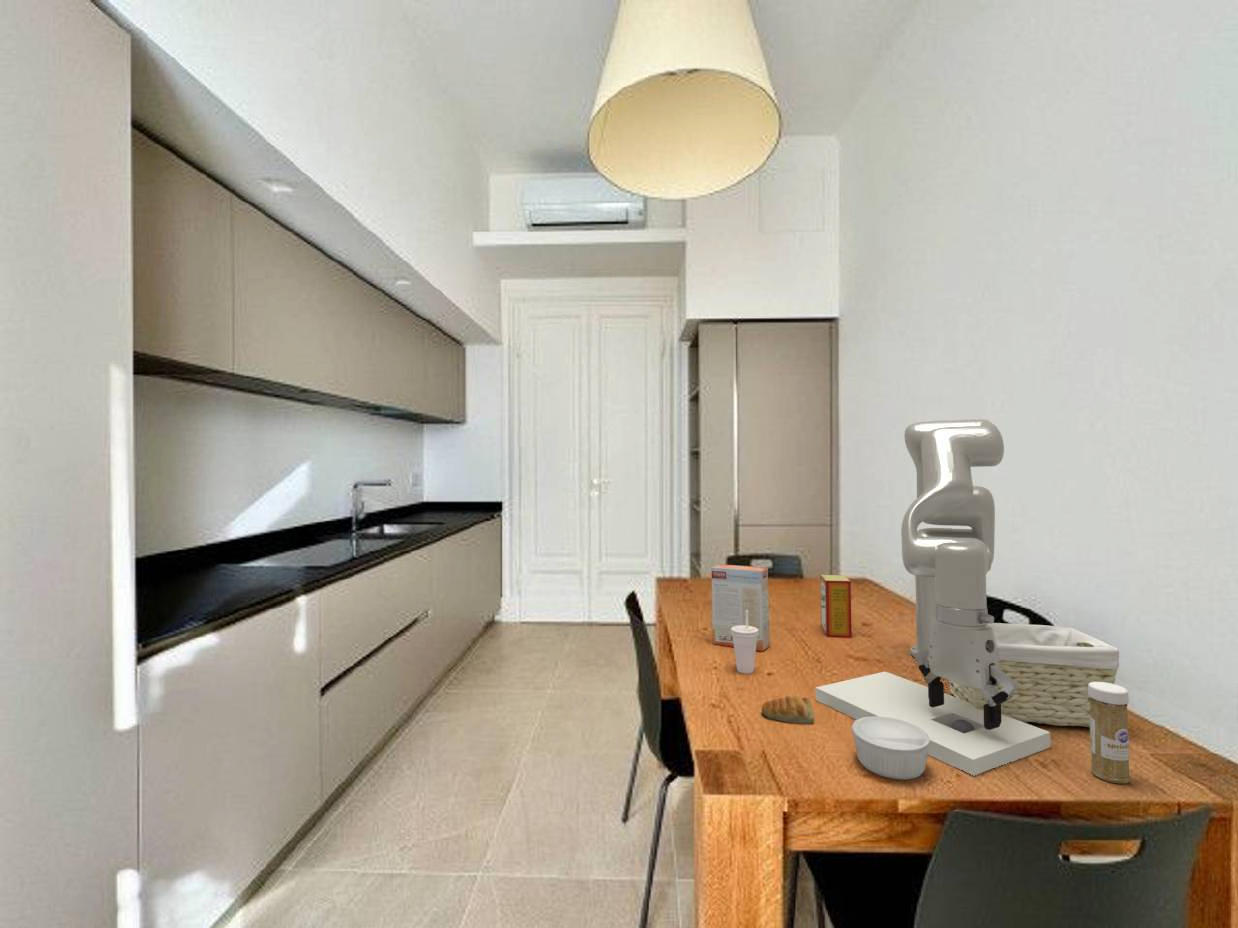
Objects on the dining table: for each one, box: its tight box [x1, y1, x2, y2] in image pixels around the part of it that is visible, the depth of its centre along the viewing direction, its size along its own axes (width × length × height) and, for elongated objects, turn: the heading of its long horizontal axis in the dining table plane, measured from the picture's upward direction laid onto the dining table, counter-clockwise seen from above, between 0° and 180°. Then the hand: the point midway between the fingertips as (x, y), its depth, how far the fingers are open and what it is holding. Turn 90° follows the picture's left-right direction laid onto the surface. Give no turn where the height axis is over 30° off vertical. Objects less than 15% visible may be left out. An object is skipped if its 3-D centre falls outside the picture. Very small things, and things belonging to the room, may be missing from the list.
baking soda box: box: [819, 574, 852, 639], centre depth 160 cm, size 10×6×16 cm
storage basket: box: [948, 622, 1120, 728], centre depth 107 cm, size 24×16×15 cm
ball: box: [951, 719, 975, 733], centre depth 96 cm, size 4×4×4 cm
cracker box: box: [711, 564, 771, 652], centre depth 150 cm, size 14×6×21 cm, turn 58°
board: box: [814, 671, 1052, 777], centre depth 103 cm, size 32×20×2 cm, turn 25°
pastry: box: [761, 695, 815, 725], centre depth 106 cm, size 9×7×4 cm
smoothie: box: [731, 610, 759, 674], centre depth 131 cm, size 6×6×14 cm
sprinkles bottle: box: [1088, 682, 1131, 784], centre depth 84 cm, size 5×5×14 cm
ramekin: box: [851, 716, 930, 780], centre depth 88 cm, size 11×11×5 cm
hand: (963, 716), depth 96 cm, fingers open, 9 cm apart
